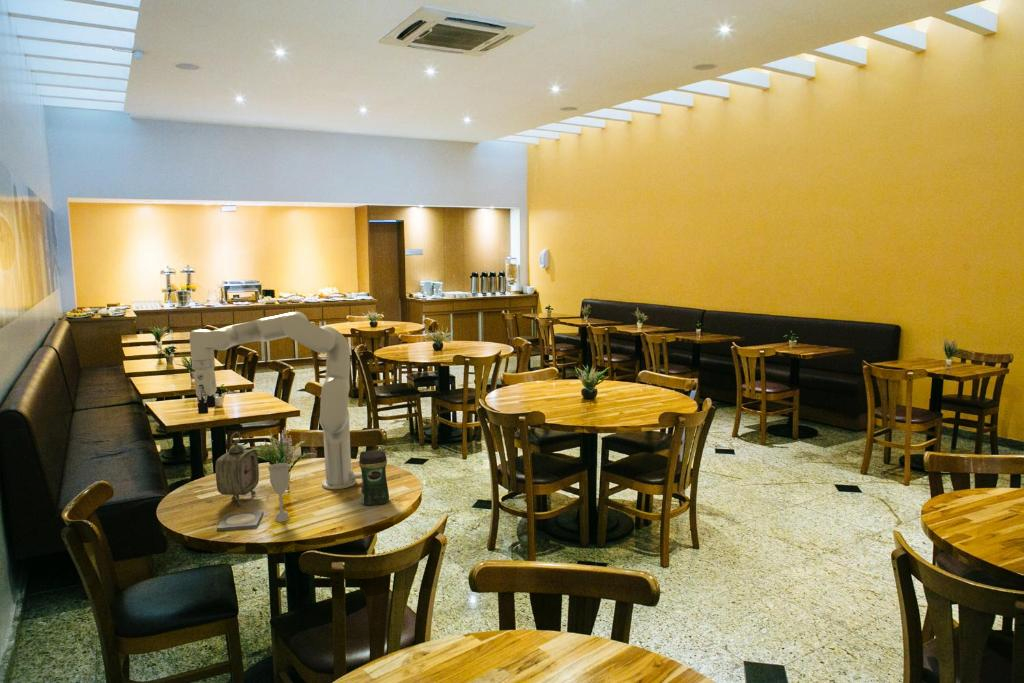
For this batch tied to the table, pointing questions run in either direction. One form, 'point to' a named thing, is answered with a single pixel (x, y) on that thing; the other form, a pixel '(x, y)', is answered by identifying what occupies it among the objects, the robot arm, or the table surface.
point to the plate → (240, 520)
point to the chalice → (280, 486)
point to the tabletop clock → (237, 471)
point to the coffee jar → (373, 477)
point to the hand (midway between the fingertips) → (207, 410)
